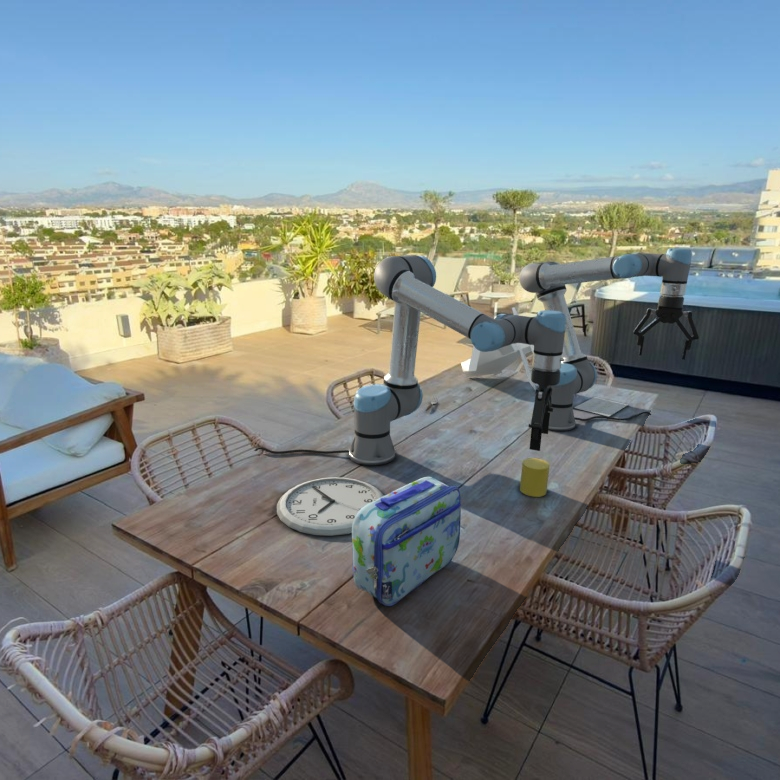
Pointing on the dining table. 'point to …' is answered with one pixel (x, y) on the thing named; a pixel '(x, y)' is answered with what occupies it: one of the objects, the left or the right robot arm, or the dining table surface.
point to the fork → (432, 403)
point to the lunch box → (405, 538)
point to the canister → (534, 477)
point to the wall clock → (325, 505)
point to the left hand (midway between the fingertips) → (539, 441)
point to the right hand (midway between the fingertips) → (661, 356)
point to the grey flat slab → (601, 406)
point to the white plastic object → (497, 359)
